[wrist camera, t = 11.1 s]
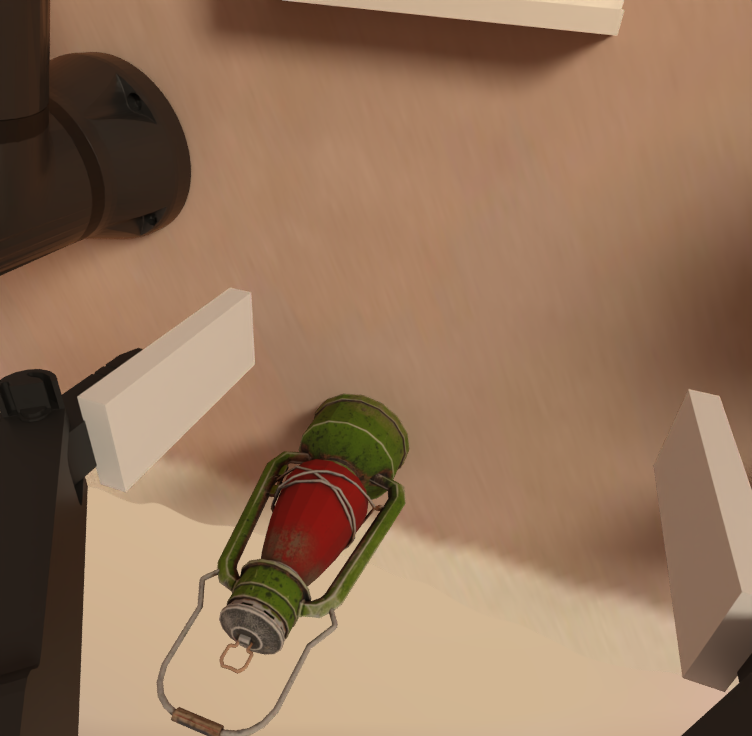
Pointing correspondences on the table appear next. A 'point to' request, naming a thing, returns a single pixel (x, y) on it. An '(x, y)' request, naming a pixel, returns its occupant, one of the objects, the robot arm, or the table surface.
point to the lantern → (305, 535)
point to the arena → (507, 11)
